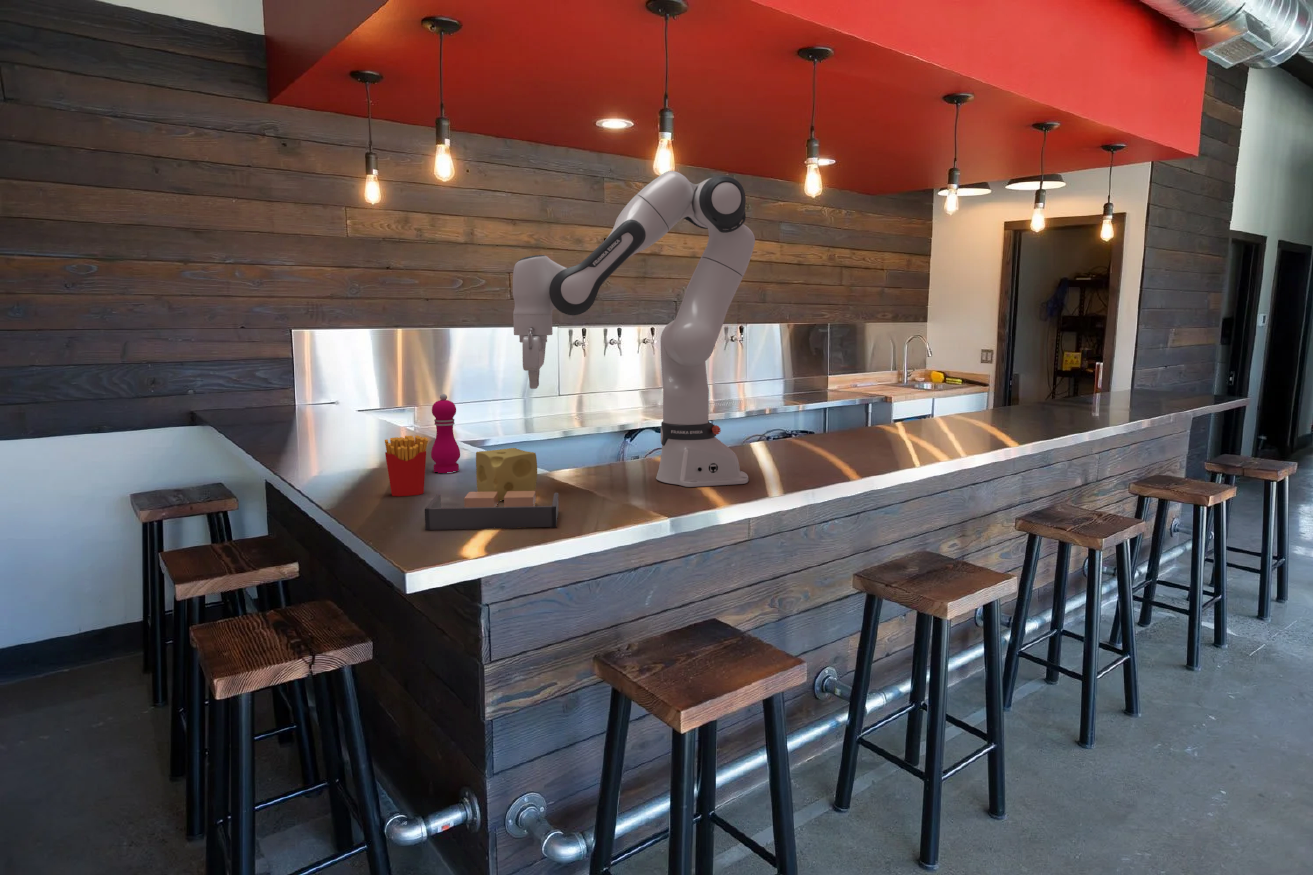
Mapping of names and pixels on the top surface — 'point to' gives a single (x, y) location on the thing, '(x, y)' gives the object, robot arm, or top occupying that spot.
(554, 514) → the box
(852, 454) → the top surface
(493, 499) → the tile
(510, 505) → the tile
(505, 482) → the cheese
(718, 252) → the robot arm
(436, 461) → the pepper mill
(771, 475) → the top surface
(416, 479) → the french fries
